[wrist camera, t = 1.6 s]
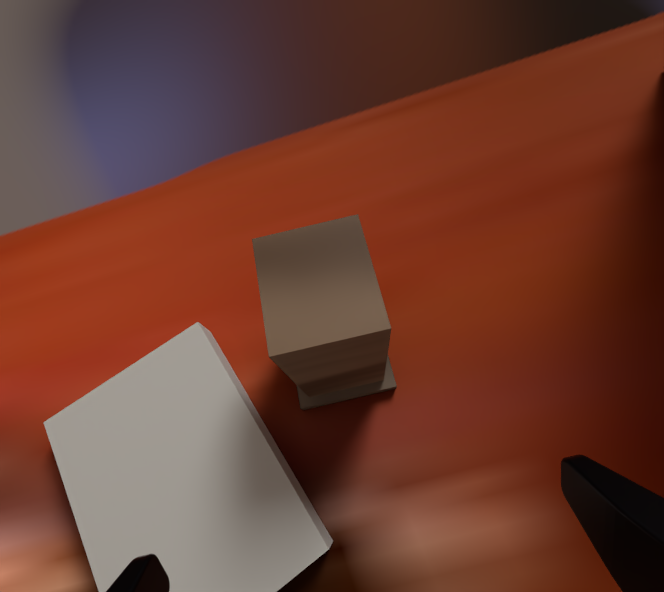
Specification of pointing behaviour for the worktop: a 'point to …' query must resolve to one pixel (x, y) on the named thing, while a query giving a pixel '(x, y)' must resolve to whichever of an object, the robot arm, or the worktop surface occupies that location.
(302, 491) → the display block
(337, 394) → the brown box on plinth
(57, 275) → the worktop surface
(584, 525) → the robot arm
